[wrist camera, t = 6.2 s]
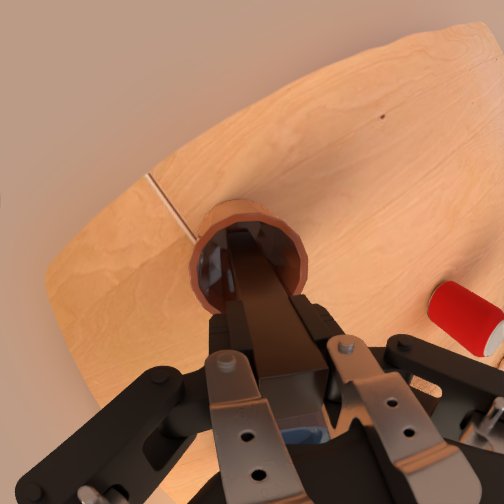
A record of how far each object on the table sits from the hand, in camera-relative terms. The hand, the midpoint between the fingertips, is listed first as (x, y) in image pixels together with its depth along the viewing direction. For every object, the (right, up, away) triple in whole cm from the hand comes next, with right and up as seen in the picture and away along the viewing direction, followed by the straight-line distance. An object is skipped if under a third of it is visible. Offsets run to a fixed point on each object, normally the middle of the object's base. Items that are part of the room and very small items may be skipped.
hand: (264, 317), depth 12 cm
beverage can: (+25, -4, +20) cm, 32 cm away
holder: (-2, +4, +14) cm, 14 cm away
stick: (-2, +4, +12) cm, 13 cm away
